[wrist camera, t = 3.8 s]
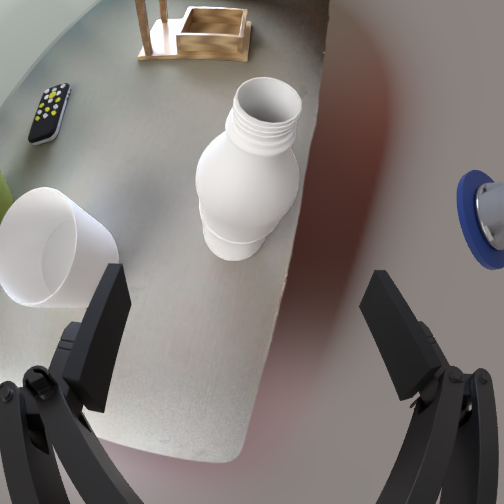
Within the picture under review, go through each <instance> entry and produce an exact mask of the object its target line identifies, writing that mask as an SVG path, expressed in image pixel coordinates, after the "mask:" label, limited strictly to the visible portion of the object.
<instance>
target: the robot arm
mask: <svg viewBox="0 0 504 504" xmlns="http://www.w3.org/2000/svg"><path fill="white" fill-rule="evenodd" d="M473 206H474V213H475V218H476V222H477V225H478V228H479V231H480V233H481V235H482V237H483V239H484V241H485V242H486V243H487V245H488V246H489V247H490V248H491V249H493V250H494V251H501V250H504V182H495V183H484V184H482V185H480V186H479V187H477V188H476V190H475V193H474V198H473ZM359 307H360V310H361V312H362V314H363V316H364V318H365V320H366V322H367V324H368V327H369V329H370V331H371V333H372V335H373V338H374V339H375V342H376V344H377V346H378V349H379V351H380V353H381V356H382V358H383V360H384V363H385V365H386V367H387V370H388V372H389V374H390V377H391V379H392V382H393V384H394V386H395V389H396V392H397V394H398V396H399V399H400V401H402V400H406V399H409V398H412V397H413V396H414V395H415V394H416V393H417V392H418V391H419V393H420V397H419V398H417V400H415V401H414V402H413V403H412V404H411V406H410V408H412V407H413V406H414V405H415V404H416V406H415V408H414V413H413V416H412V419H411V422H410V425H409V428H408V431H407V434H406V436H405V439H404V442H403V445H402V447H401V450H400V452H399V455H398V457H397V460H396V462H395V464H394V467H393V469H392V471H391V474H390V476H389V478H388V480H387V482H386V485H385V486H384V488H383V490H382V493H381V494H380V496H379V498H378V500H377V502H376V504H436V501H437V499H438V496H439V493H440V490H441V488H442V491H441V498H440V504H496V498H497V487H498V466H499V465H498V464H499V450H498V448H499V447H498V427H497V416H496V405H495V398H494V391H493V385H492V379H491V376H490V374H489V373H488V372H487V371H486V370H485V369H482V368H479V369H477V370H476V371H475V372H474V373H473V374H463V373H462V371H461V370H460V369H459V368H457V367H455V366H450V365H449V363H448V361H447V359H446V358H445V356H444V354H443V352H442V351H441V349H440V347H439V345H438V344H437V342H436V340H435V338H434V337H433V335H432V333H431V331H430V329H429V328H428V327H427V326H426V325H425V324H424V323H423V322H422V321H419V322H418V321H417V319H416V317H415V316H414V314H413V312H412V311H411V309H410V307H409V306H408V304H407V302H406V301H405V299H404V298H403V296H402V295H401V293H400V291H399V290H398V288H397V287H396V285H395V284H394V282H393V281H392V279H391V278H390V276H389V275H388V273H387V272H386V271H385V270H375V271H374V273H373V275H372V278H371V280H370V282H369V285H368V287H367V289H366V292H365V294H364V296H363V299H362V301H361V303H360V305H359ZM130 308H131V300H130V296H129V291H128V287H127V283H126V278H125V274H124V269H123V264H116V263H108V265H107V267H106V269H105V271H104V274H103V276H102V278H101V280H100V282H99V284H98V286H97V288H96V290H95V293H94V295H93V297H92V299H91V301H90V304H89V306H88V308H87V311H86V313H85V315H84V318H83V320H82V322H81V323H79V322H71V323H70V324H69V325H68V326H67V327H66V328H65V329H64V331H63V334H62V336H61V340H60V341H59V343H58V346H57V348H56V351H55V353H54V356H53V359H52V361H51V364H50V367H49V369H48V370H47V369H46V368H45V367H43V366H34V367H31V368H30V369H28V370H27V372H26V373H25V374H24V377H23V387H19V388H18V387H17V386H16V385H15V384H14V383H13V382H11V381H5V382H3V383H1V384H0V451H1V457H2V463H3V468H4V472H5V477H6V482H7V486H8V490H9V494H10V498H11V501H12V504H70V502H69V500H68V497H67V494H66V491H65V488H64V485H63V482H62V479H61V476H60V472H59V469H58V465H57V462H56V459H55V454H54V451H53V447H54V449H55V451H56V453H57V455H58V457H59V459H60V461H61V463H62V465H63V467H64V468H65V470H66V472H67V474H68V475H69V477H70V479H71V481H72V483H73V484H74V486H75V488H76V489H77V491H78V492H79V494H80V496H81V497H82V499H83V500H84V501H85V503H86V504H144V503H143V502H142V501H141V499H140V498H139V497H138V496H137V494H136V493H135V492H134V491H133V490H132V488H131V487H130V486H129V484H128V483H127V482H126V480H125V479H124V478H123V476H122V475H121V473H120V472H119V471H118V469H117V468H116V466H115V465H114V463H113V462H112V461H111V459H110V458H109V456H108V454H107V453H106V451H105V450H104V448H103V447H102V445H101V444H100V442H99V440H98V438H97V437H96V435H95V433H94V432H93V430H92V428H91V426H90V425H89V423H88V421H87V419H86V417H85V415H84V414H83V412H82V408H83V404H84V406H85V407H86V408H87V409H88V410H91V411H96V412H101V413H104V411H105V405H106V401H107V396H108V391H109V386H110V382H111V378H112V373H113V369H114V365H115V361H116V357H117V353H118V349H119V346H120V342H121V338H122V335H123V331H124V328H125V324H126V321H127V317H128V314H129V311H130ZM471 404H472V410H471V411H469V406H470V405H471ZM52 445H53V446H52Z"/></svg>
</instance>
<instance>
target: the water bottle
mask: <svg viewBox="0 0 504 504" xmlns="http://www.w3.org/2000/svg"><path fill="white" fill-rule="evenodd" d="M301 110H302V104H301V99H300V97H299V95H298V93H297V91H295V90H294V89H293V88H292V87H291V86H290V85H289V84H287V83H285V82H283V81H280V80H278V79H274V78H269V77H259V78H252V79H250V80H248V81H245V82H243V83H242V84H241V86H240V87H239V88H238V89H237V91H236V95H235V97H234V104H233V108H232V109H231V111H230V113H229V115H228V117H227V120H226V126H225V128H226V131H225V132H223V133H221V134H220V135H219V136H218V137H216V138H215V139H214V140H213V141H212V142H211V143H210V144H209V145H208V147H207V148H206V149H205V150H204V152H203V154H202V156H201V158H200V160H199V162H198V166H197V170H196V189H197V193H198V196H199V199H200V200H199V210H200V216H201V219H202V222H203V234H204V239H205V242H206V244H207V246H208V247H209V249H210V250H211V251H212V252H213V253H214V254H215V255H216V256H218V257H220V258H222V259H224V260H228V261H241V260H245V259H247V258H249V257H251V256H252V255H254V254H255V253H256V252H257V251H258V250H259V249H260V248H261V246H262V245H263V243H264V241H265V239H266V236H267V235H268V234H269V233H271V232H272V231H273V230H274V228H275V227H276V226H277V225H278V223H279V221H280V219H281V218H282V217H283V216H284V215H285V214H286V213H287V212H288V211H289V210H290V208H291V206H292V205H293V203H294V201H295V198H296V196H297V193H298V188H299V177H300V174H299V169H298V163H297V161H296V158H295V155H294V153H293V151H292V149H291V146H292V144H293V142H294V140H295V137H296V123H297V120H298V118H299V116H300V115H301Z"/></svg>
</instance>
